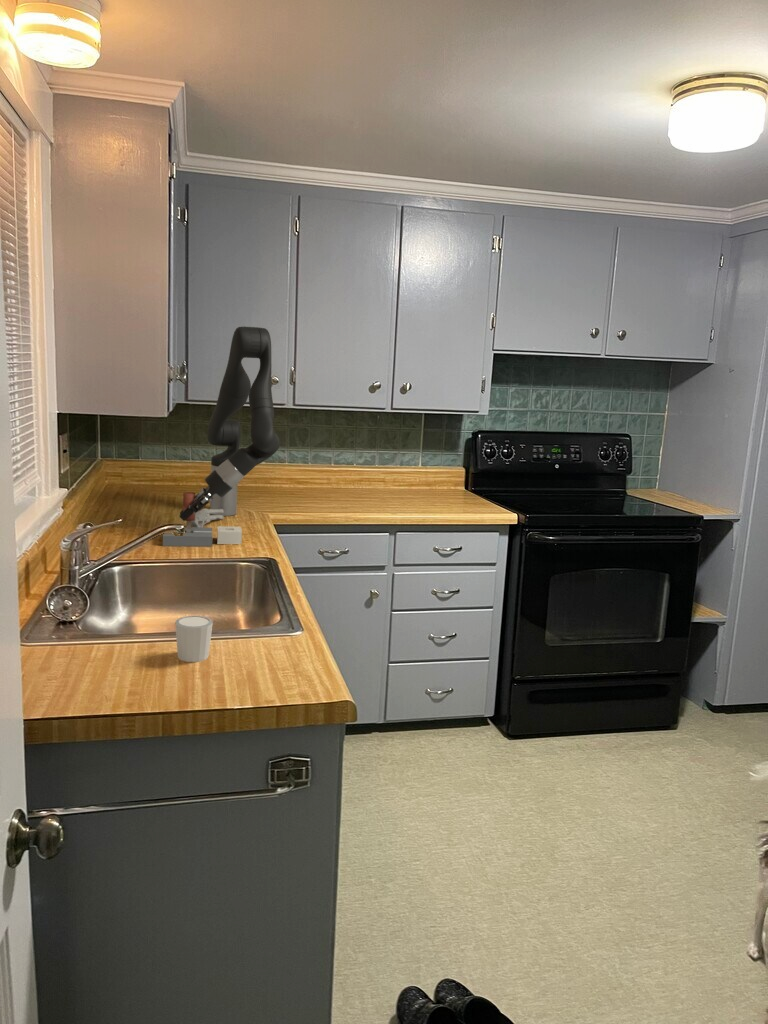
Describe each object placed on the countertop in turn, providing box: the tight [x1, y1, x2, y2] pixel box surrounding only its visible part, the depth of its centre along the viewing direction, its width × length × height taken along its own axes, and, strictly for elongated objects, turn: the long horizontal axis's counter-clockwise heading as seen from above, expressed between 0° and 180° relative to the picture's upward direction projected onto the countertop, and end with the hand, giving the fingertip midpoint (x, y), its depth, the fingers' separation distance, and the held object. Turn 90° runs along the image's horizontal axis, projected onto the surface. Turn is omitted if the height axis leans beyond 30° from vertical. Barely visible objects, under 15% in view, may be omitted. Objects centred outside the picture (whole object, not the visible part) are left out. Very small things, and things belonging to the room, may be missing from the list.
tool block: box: [216, 525, 243, 546], centre depth 232 cm, size 7×7×4 cm
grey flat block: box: [162, 526, 214, 548], centre depth 230 cm, size 12×14×3 cm
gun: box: [191, 507, 225, 527], centre depth 249 cm, size 2×30×8 cm, turn 174°
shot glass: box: [175, 615, 214, 663], centre depth 145 cm, size 7×7×7 cm
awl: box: [182, 491, 196, 533], centre depth 228 cm, size 3×3×13 cm
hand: (181, 516), depth 228 cm, fingers closed on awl, 3 cm apart
